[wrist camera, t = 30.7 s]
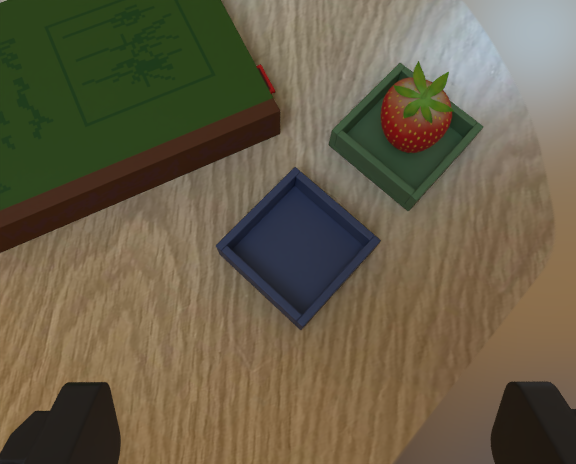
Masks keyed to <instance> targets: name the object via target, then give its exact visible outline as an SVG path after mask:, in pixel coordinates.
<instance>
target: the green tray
mask: <svg viewBox="0 0 576 464" xmlns="http://www.w3.org/2000/svg"><path fill="white" fill-rule="evenodd" d="M405 78H413V72H412V71H411V70H409V69H408V68H407V67H405V66H404V65H403V64H401V63H399V64H398V65H397V66H396V67H395V68H394V69H393V70H392V71H391V72H390V73H389V74H388V75H387V76H386V77H385V78H384V79H383V80H382V81H381V82H380V83H379V84H378V85H377V86H376V87H375V88H374V89H373V90H372V91H371V92H370V93H369V94H368V95H367V96H366V97H365V98H364V99H363V100H362V101H361V102H360V103H359V104H358V105H357V106H356V107H355V108H354V109H353V110H352V111H351V112H350V113H349V114H348V115H347V116H346V117H345V118H344V119H343V120H342V121H341V122H340V123H339V124H338V125H337V126H336V127H335V128H334V129H333V130H332V132H331V137H330V141H329V146H331V147H332V148H333V149H334V150H335V151H336V152H338V153H339V154H340V155H341V156H342V157H344V158H345V159H346V160H347V161H348V162H350V163H351V164H352V165H353V166H354V167H356V168H357V169H358V170H359V171H360V172H362V173H363V174H364V175H365V176H366V177H368V178H369V179H370V180H371V181H372V182H374V183H375V184H376V185H377V186H378V187H380V188H381V189H382V190H383V191H384V192H386V193H387V194H388V195H389V196H390V197H392V198H393V199H394V200H395V201H396V202H398V203H399V204H400V205H401V206H402V207H404V208H405V209H406V210H407V211H409V210H410V209H411V208H412V207H413V206H414V205H415V203H416V202H417V201H418V200H419V199H420V198H421V197H422V196H423V195H424V193H425V192H426V191H427V190H428V189H429V188H430V187H431V186H432V185H433V183H434V182H435V181H436V180H437V179H438V178H439V177H440V176H441V175H442V174H443V172H444V171H445V170H446V169H447V168H448V167H449V166H450V165H451V164H452V162H453V161H454V160H455V159H456V158H457V157H458V156H459V155H460V154H461V152H462V151H463V150H464V149H465V148H466V147H467V146H468V145H469V144H470V143H471V141H472V140H473V139H474V138H475V137H476V135H477V134H478V133H479V132H480V131H481V130H482V128H483V126H482V125H481V124H479V123H477V121H476V120H474V119H473V118H472V117H470V116H469V115H468V114H466V113H465V112H464V111H463V110H461V109H460V108H459V107H457V106H456V105H455V104H453V103H452V102H451V101H450V103H451V108H452V109H453V110H454V112H452V119H451V123H450V126H449V128H448V130H447V131H446V133H445V134H444V135H443V137H442V138H441V139H440V140H439V141H438V142H436V143H435V144H434V145H432V146H431V147H430V148H428V149H426V150H424V151H421V152H417V153H407V152H403V151H400V150H398V149H397V148H395V147H394V146H393V145H392V144H391V143H390V142H389V141H388V140H387V138H386V137H385V135H384V132H383V129H382V125H381V107H382V103H383V99H384V97H385V95H386V93H387V92H388V90H389V89H390V88H391V87H392V86H393V84H395V83H396V82H398V81H400V80H402V79H405Z"/></svg>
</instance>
